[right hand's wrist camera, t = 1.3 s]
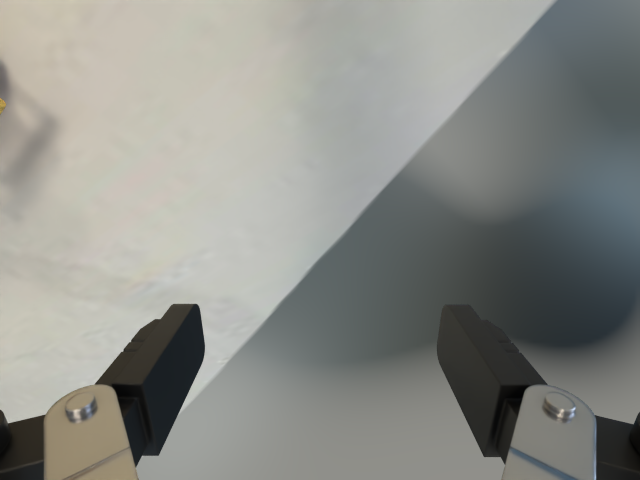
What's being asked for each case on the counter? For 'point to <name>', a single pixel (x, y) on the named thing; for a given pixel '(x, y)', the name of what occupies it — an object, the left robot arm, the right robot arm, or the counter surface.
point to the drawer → (2, 105)
